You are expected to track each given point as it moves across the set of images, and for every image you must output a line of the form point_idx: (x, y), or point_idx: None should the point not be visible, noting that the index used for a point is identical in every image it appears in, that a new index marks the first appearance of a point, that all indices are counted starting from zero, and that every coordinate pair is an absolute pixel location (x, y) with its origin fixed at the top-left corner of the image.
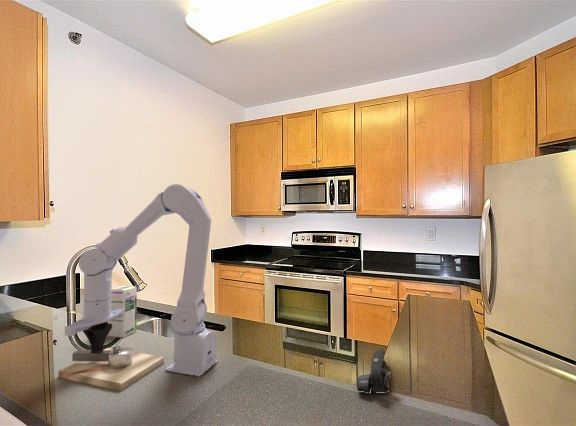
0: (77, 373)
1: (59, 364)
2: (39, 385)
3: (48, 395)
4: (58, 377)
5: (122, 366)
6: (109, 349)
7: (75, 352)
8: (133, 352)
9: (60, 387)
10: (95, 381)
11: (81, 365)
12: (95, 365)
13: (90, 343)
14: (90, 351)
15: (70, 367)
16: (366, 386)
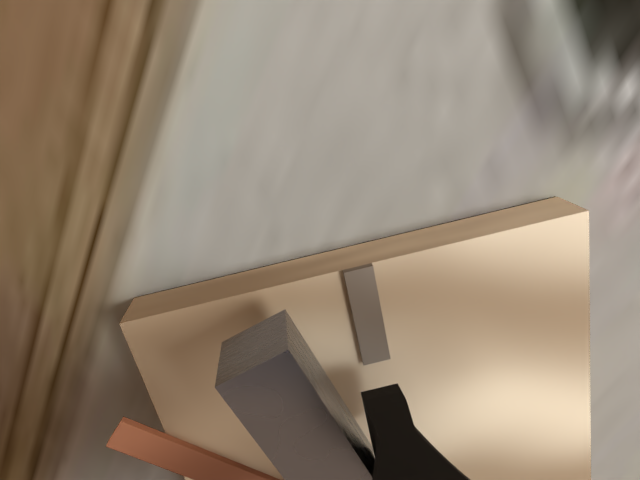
0: (190, 473)
1: (232, 41)
2: (6, 310)
3: (19, 474)
4: (134, 299)
5: None
6: (567, 255)
7: (240, 393)
8: (584, 452)
9: (98, 437)
10: None
11: None
12: None
13: (376, 472)
14: (333, 472)
15: (203, 340)
16: None
